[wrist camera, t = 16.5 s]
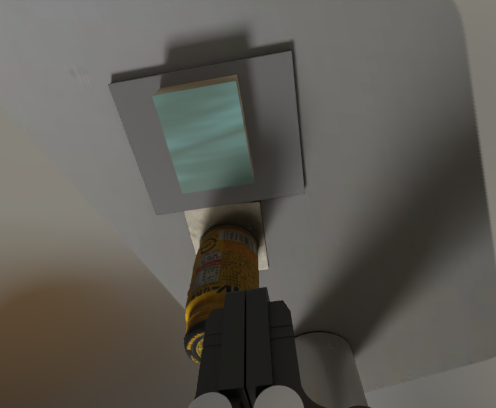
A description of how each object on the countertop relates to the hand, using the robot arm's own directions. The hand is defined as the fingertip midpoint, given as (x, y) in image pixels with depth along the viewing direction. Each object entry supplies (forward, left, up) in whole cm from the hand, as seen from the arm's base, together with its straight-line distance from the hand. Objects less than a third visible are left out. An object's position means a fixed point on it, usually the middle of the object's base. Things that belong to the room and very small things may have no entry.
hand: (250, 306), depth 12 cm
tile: (+5, +3, -17) cm, 18 cm away
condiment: (-10, +4, -19) cm, 22 cm away
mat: (0, +3, -18) cm, 19 cm away
